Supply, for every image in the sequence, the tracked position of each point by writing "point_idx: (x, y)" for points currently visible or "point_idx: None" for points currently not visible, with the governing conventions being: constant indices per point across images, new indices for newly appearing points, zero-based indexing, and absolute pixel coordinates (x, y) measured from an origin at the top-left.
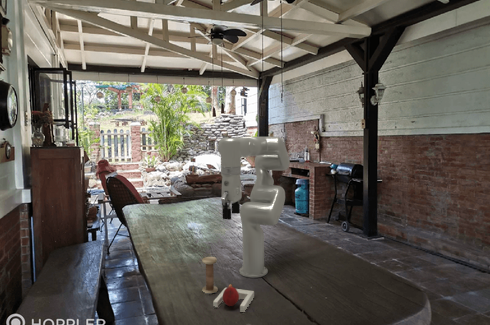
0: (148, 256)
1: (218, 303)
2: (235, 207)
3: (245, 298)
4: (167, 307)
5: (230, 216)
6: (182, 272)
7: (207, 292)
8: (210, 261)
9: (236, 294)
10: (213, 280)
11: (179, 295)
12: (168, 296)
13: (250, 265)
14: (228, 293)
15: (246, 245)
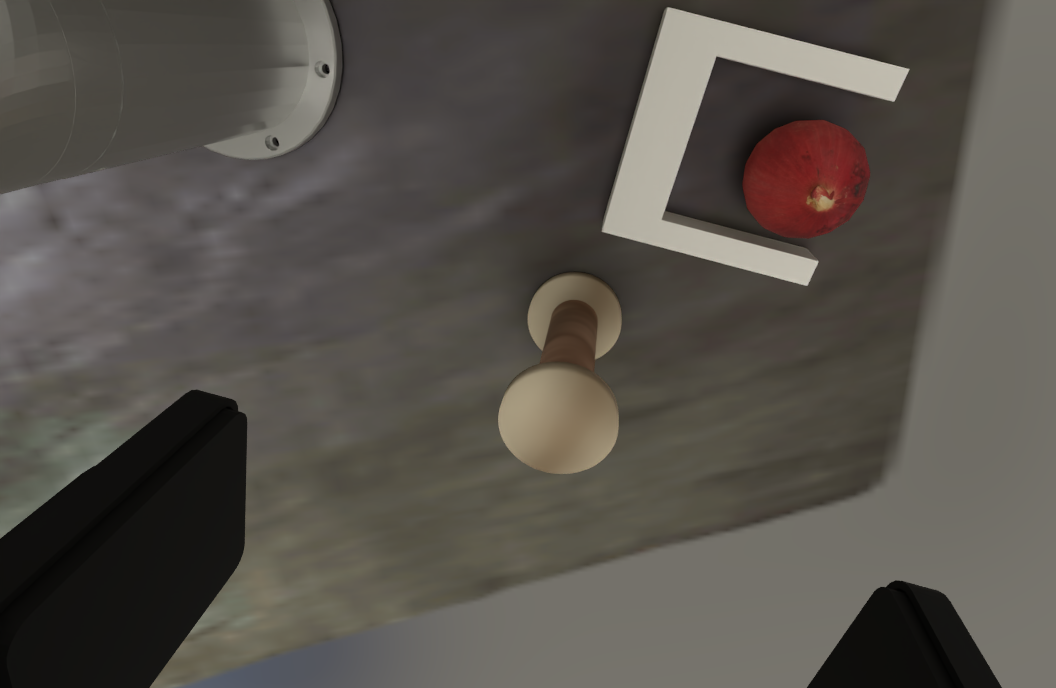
0: (188, 651)
1: (792, 250)
2: (134, 615)
3: (787, 69)
4: (756, 489)
5: (976, 659)
6: (343, 485)
7: (620, 329)
8: (613, 412)
9: (849, 139)
10: (574, 322)
11: (625, 459)
12: (636, 503)
13: (275, 66)
14: (860, 201)
15: (158, 119)
